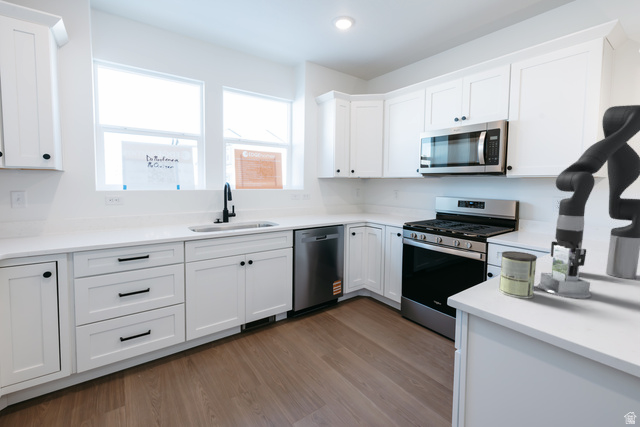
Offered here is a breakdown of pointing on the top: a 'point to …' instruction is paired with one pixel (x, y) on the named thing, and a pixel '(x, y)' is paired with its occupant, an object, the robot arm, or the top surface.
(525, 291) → the coffee can
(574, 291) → the collar
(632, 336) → the top surface
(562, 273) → the syrup box
